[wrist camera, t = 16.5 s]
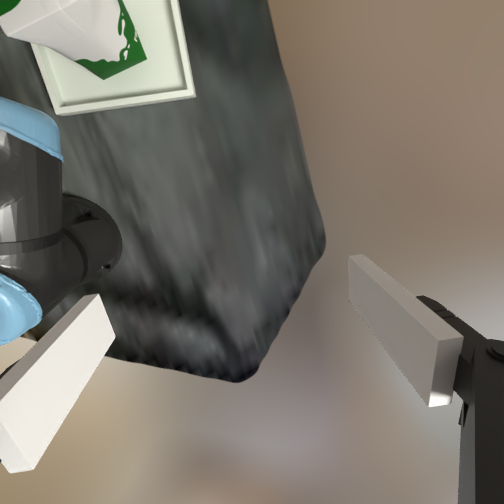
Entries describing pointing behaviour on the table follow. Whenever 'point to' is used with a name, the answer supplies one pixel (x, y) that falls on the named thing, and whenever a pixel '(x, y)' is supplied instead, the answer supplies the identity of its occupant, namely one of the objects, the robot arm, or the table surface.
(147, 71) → the tray
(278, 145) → the table surface
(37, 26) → the soya milk
